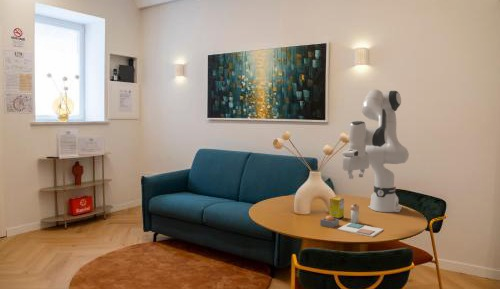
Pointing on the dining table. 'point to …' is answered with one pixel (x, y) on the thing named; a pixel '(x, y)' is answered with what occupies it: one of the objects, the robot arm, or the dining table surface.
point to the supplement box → (337, 207)
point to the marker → (354, 213)
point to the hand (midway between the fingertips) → (356, 178)
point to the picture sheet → (360, 229)
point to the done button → (330, 218)
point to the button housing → (329, 222)
